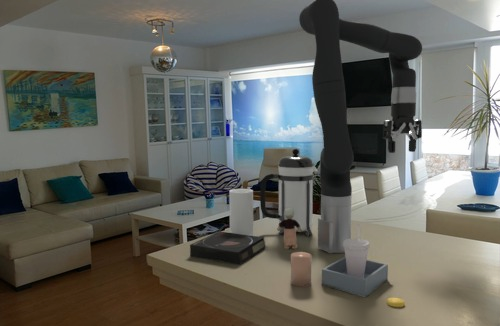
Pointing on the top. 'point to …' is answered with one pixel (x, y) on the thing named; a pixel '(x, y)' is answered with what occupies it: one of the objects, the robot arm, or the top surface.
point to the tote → (341, 280)
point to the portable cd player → (227, 247)
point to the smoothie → (356, 255)
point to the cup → (241, 211)
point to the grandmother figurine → (289, 229)
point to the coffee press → (293, 190)
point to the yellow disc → (395, 302)
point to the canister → (301, 269)
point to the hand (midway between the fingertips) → (401, 152)
